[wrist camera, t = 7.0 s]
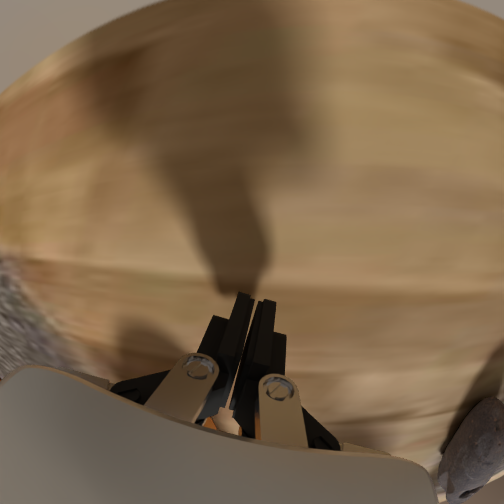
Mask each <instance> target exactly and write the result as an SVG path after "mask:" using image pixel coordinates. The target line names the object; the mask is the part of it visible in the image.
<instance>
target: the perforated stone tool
mask: <svg viewBox="0 0 504 504" xmlns="http://www.w3.org/2000/svg"><path fill="white" fill-rule="evenodd" d="M503 457H504V404H503V403H502V402H501V401H500V400H499V399H497V398H495V397H491V396H490V397H487V398H484V399H483V400H481V401H480V402H479V403H478V404H477V405H476V406H475V407H474V408H473V409H472V410H471V411H470V412H469V414H468V415H467V416H466V418H465V419H464V421H463V422H462V424H461V425H460V427H459V429H458V430H457V432H456V433H455V435H454V437H453V438H452V440H451V441H450V443H449V444H448V446H447V448H446V451H445V452H444V454H443V456H442V460H441V462H440V464H439V469H438V478H437V479H438V483H439V484H440V485H441V487H442V488H443V489H444V490H445V492H446V499H447V501H448V502H449V504H460V503H463V502H464V501H466V500H467V499H469V498H470V497H471V496H473V495H474V494H475V493H476V492H478V491H479V490H480V489H481V488H482V487H483V486H484V485H485V484H486V483H487V482H488V481H489V479H490V478H491V477H492V475H493V474H494V472H495V471H496V469H497V468H498V466H499V464H500V463H501V461H502V459H503Z"/></svg>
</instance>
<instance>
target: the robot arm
mask: <svg viewBox="0 0 504 504" xmlns="http://www.w3.org/2000/svg"><path fill="white" fill-rule="evenodd" d="M250 297H251V295H249V294H245V293H242V292H239V293H238V296H237V298H236V301H235V304H234V307H233V310H232V313H231V316H230V319H225V318H222V317H219V316H215V315H213V317H212V319H211V321H210V323H209V326H208V328H207V330H206V332H205V335H204V337H203V339H202V342H201V344H200V346H199V349H198V351H197V353H188V354H186V355H184V356H182V357H181V358H180V359H179V360H178V362H177V363H176V364H175V366H174V367H173V368H172V369H171V370H168V371H164V372H160V373H156V374H152V375H147V376H143V377H139V378H134V379H130V380H125V381H121V382H118V383H116V384H113V383H110V381H109V380H107V379H103V378H100V377H96V376H92V375H89V374H85V373H82V372H78V371H75V370H72V369H69V368H64V367H57V368H50V367H45V366H40V365H25V366H21V367H19V368H17V369H15V370H13V371H12V372H10V373H9V374H8V375H7V376H5V377H4V378H3V379H2V380H1V381H0V504H439V502H438V497H437V493H436V490H435V487H434V484H433V481H432V479H431V477H430V475H429V473H428V472H427V470H426V469H425V468H423V467H422V466H421V465H419V464H417V463H415V462H413V461H410V460H407V459H404V458H400V457H396V456H391V455H390V454H389V453H386V452H383V451H379V450H374V449H370V448H366V447H362V446H358V445H354V444H351V443H347V442H344V443H343V444H341V443H339V442H338V441H337V439H336V438H335V437H334V436H333V435H332V434H331V433H330V432H329V431H327V430H326V429H325V428H324V427H323V426H322V425H321V424H320V423H319V422H318V421H317V420H316V419H315V418H313V417H312V416H311V415H310V414H309V413H308V412H307V411H306V410H305V409H304V408H303V407H302V406H301V402H300V396H299V390H298V388H297V385H296V384H295V383H294V382H293V381H292V380H291V379H290V378H288V377H286V376H285V359H286V335H285V334H281V333H277V332H273V331H274V322H275V312H276V302H274V301H271V300H267V299H264V301H263V302H262V301H258V304H257V307H256V310H255V314H254V317H253V320H252V323H251V326H250V330H249V333H248V336H247V339H246V335H247V331H248V327H249V322H250V318H251V314H252V310H253V305H254V301H255V300H254V299H251V298H250ZM245 339H246V342H245ZM244 343H245V345H244ZM243 348H244V349H243ZM242 352H243V353H242ZM241 356H242V357H241ZM240 359H241V361H240ZM239 363H240V365H239ZM238 366H239V369H238ZM237 369H238V373H237V377H236V382H235V386H234V390H233V394H232V398H231V402H230V406H229V409H230V410H234V411H233V416H232V418H234V419H235V420H236V421H237V423H238V424H239V425H240V427H239V436H238V435H234V434H230V433H226V432H222V431H218V430H215V429H211V428H207V427H204V424H205V422H206V419H207V418H208V417H211V416H213V415H216V414H218V411H219V407H223V408H225V406H226V403H227V400H228V397H229V394H230V390H231V387H232V384H233V381H234V378H235V375H236V372H237Z"/></svg>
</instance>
